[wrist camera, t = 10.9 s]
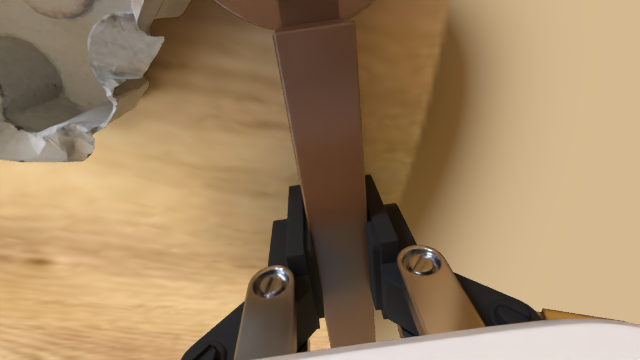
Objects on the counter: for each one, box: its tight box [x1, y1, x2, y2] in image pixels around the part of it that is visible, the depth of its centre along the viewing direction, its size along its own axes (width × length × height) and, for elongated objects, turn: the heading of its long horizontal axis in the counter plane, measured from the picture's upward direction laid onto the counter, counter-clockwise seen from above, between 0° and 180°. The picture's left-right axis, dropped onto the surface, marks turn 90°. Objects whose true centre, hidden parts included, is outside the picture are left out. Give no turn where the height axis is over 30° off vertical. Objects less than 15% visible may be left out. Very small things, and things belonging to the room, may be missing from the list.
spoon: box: [214, 0, 376, 348], centre depth 10 cm, size 20×6×3 cm, turn 7°
